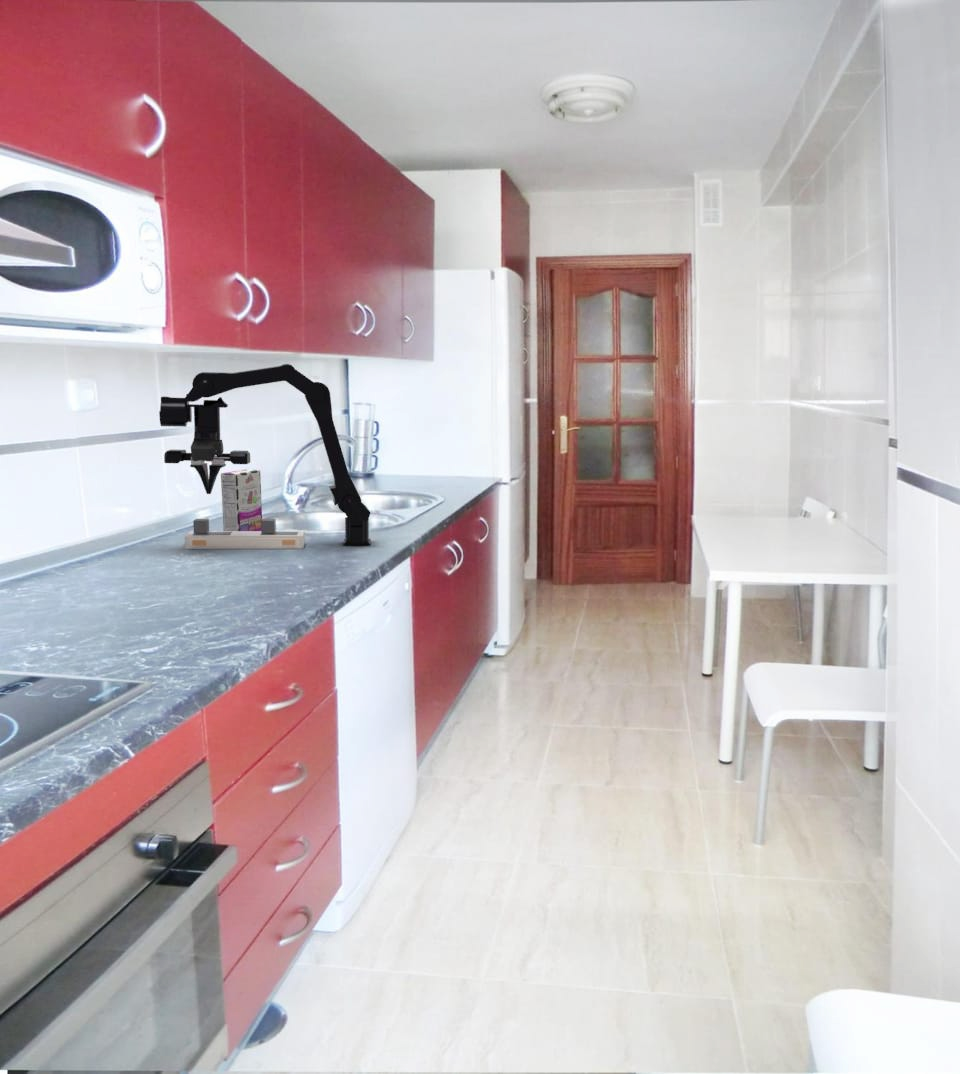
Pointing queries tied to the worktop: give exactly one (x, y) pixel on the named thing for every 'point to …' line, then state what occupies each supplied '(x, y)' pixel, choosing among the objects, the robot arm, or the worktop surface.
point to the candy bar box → (241, 500)
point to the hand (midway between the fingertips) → (208, 493)
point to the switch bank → (245, 540)
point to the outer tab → (201, 525)
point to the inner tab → (268, 525)
